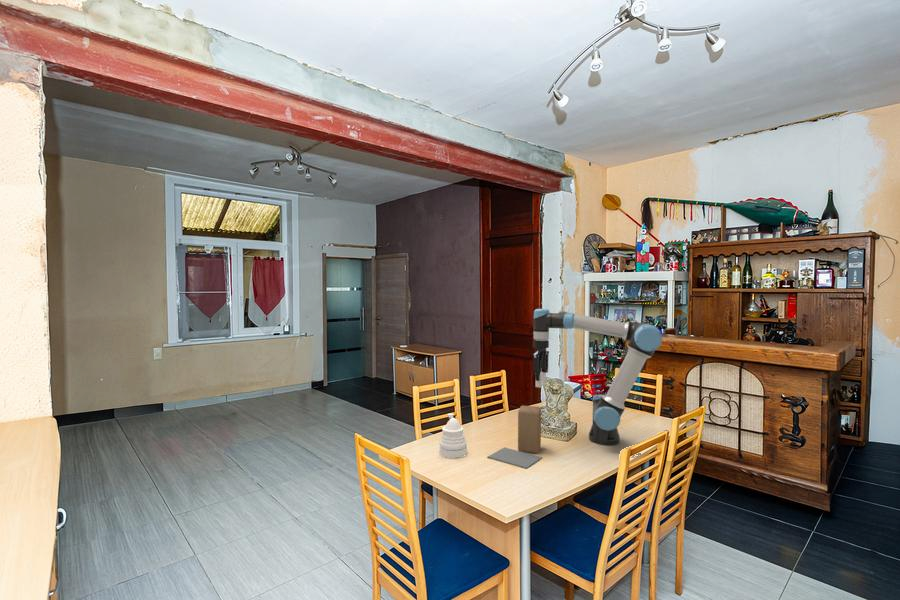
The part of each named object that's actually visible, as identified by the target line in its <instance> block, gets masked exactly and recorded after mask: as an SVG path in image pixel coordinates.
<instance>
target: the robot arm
mask: <svg viewBox="0 0 900 600" xmlns="http://www.w3.org/2000/svg"><path fill="white" fill-rule="evenodd" d="M550 329H565V330H568V329H569V330H571V329H575V330H580V331H585V332H591V333H596V334H601V335H604V336H605V335H606V336H612V337H617V338H622V340H624V341H625V342H626V341H627V342H628V344H627V349H628V351H627V353H626V355H625V357H624V359H623V362H622V363H621V365H620V367H619V369H618V371H617V373H616V375H615V376H614V378H613V380H612V382H611V384H610V387H609V389H608V390H607V392H606V394H594V395H593V396H592V424H591V427H590V430H589V432H588V439H589V441H590V442H592V443H595V444H599V445H604V446H615V445H618V444H620V442H621V436H620V432H619V430H618V427H619V425H620V423H621V417H622V415H623V413H624V412H625V410H626V407H625V402H626V400H627V397H628V396H629V394H630V392H631V390H632V388H633V387H634V384H635V382H636V380H637V379H638V376H639V375H640V373H641V371H642V369H643V367H644V365H645V363H646V361H647V360H648V359H650V358H652V357H653V355H654V353H655V351H656V350H657V349H658V348H659V347H660V346H661V344H662V343H663V336H662V332H661V331H660V329H659V328H658V327H657V326H654V325H653V324H650V323H647V322H633V321H626V322H622V321H615V320H610V319H605V318H599V317H594V316H588V315H582V314H577V313H573V312H572V313H571V312H567V311H564V310H563V311H560V312H556V313H555V312H550V310H549V309H548V308H536V309H535V310H534V311H533V332H532V333H533V341H532V342H533V348H534V349H535V352H534V353H532V358H533V359H532V367H533V368H532V372H533V374H534V375H535V388H542V386H543V387H545V386H547V385H546V384H547V373H548V372H549V355H550V351H548V350H547V349H548V348H549V346H550V345H549V344H550V340H549V339H550Z"/></svg>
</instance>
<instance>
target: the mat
mask: <svg viewBox="0 0 900 600" xmlns="http://www.w3.org/2000/svg"><path fill="white" fill-rule="evenodd" d="M487 459H490V460H494V461H496V462H497V461H498V462H500V463H504V464H508V465H511V466H514V467H519V468H522V469H525V470H527V469H529V468H530V467H532V466H534V464H536V463H537V461H538V462H539V461H540V459H541V460H542V459H543V456H540V455H535V454H533V453H529V452H521V451H518V449H517V450H516V449H512V448H508V447H502V448H500V449H499V450H497V451H495V452H493V453H492V454H489V455H488V456H487Z"/></svg>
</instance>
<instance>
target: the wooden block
mask: <svg viewBox="0 0 900 600" xmlns="http://www.w3.org/2000/svg"><path fill="white" fill-rule="evenodd" d="M541 432H542V409H541V407H540V406H534V405H532V406H531V405H520V407H519V409H518V413H517V451H521V452H525V453H529V452H530V453H529V454H539V453H540V450H541V446H542V445H541V441H542V439H541V437H542V435H541V434H542V433H541Z"/></svg>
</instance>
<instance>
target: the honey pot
mask: <svg viewBox="0 0 900 600" xmlns="http://www.w3.org/2000/svg"><path fill="white" fill-rule="evenodd" d="M447 416H448V418H449V420H448V421H447V423H446V424H445V425H444V426H443V427H442V428H441V431H442V434H441V437H440V441H439V455H440V454H441V455H442V457H443V456H444V458H446V457H449V458H448V459H458V458H457V457H460V458H463V457H462V456H464V455H465V456H466V455H468V450H467V449H468V442H467V440H466V436H465V433H464V432H463V431H464V428H463V426H461V424H460V422H459V420H458V419H457V418H455V417H454V413H447ZM441 455H440V456H441ZM465 456H464V457H465Z"/></svg>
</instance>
